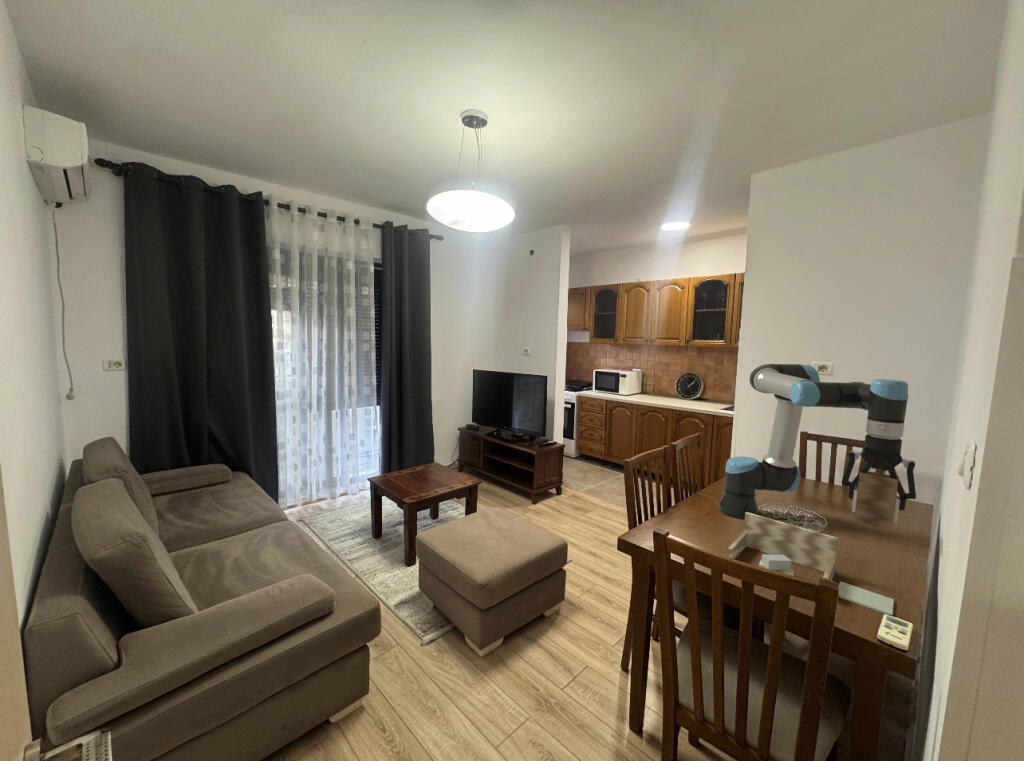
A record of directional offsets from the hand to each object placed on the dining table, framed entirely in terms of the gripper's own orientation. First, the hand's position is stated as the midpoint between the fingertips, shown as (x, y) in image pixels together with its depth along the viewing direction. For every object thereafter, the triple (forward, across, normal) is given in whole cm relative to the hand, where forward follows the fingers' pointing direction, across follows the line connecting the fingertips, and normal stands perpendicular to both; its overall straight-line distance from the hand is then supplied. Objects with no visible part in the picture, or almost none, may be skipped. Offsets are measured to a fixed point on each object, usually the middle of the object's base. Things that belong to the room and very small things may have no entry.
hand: (874, 515), depth 115 cm
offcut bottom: (+25, -21, -5) cm, 33 cm away
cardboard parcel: (+2, 0, 0) cm, 2 cm away
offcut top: (+22, -21, -5) cm, 31 cm away
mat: (+25, 0, 0) cm, 25 cm away
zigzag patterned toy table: (+25, -21, 0) cm, 33 cm away
